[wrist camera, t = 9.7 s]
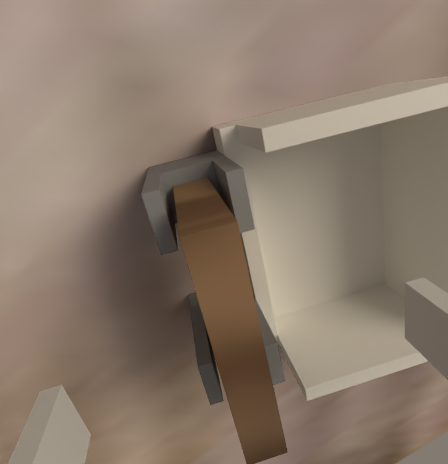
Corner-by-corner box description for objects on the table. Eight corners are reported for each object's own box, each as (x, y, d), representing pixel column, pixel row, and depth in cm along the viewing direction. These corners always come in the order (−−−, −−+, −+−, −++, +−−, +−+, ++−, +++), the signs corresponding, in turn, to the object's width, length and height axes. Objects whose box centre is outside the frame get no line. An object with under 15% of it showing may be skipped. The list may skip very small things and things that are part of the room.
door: (172, 186, 18) (179, 237, 11) (207, 177, 18) (237, 221, 11) (219, 350, 22) (247, 465, 15) (247, 341, 23) (287, 452, 15)
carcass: (141, 144, 20) (128, 161, 13) (383, 84, 22) (497, 70, 14) (202, 340, 26) (217, 430, 19) (388, 284, 28) (471, 347, 20)
